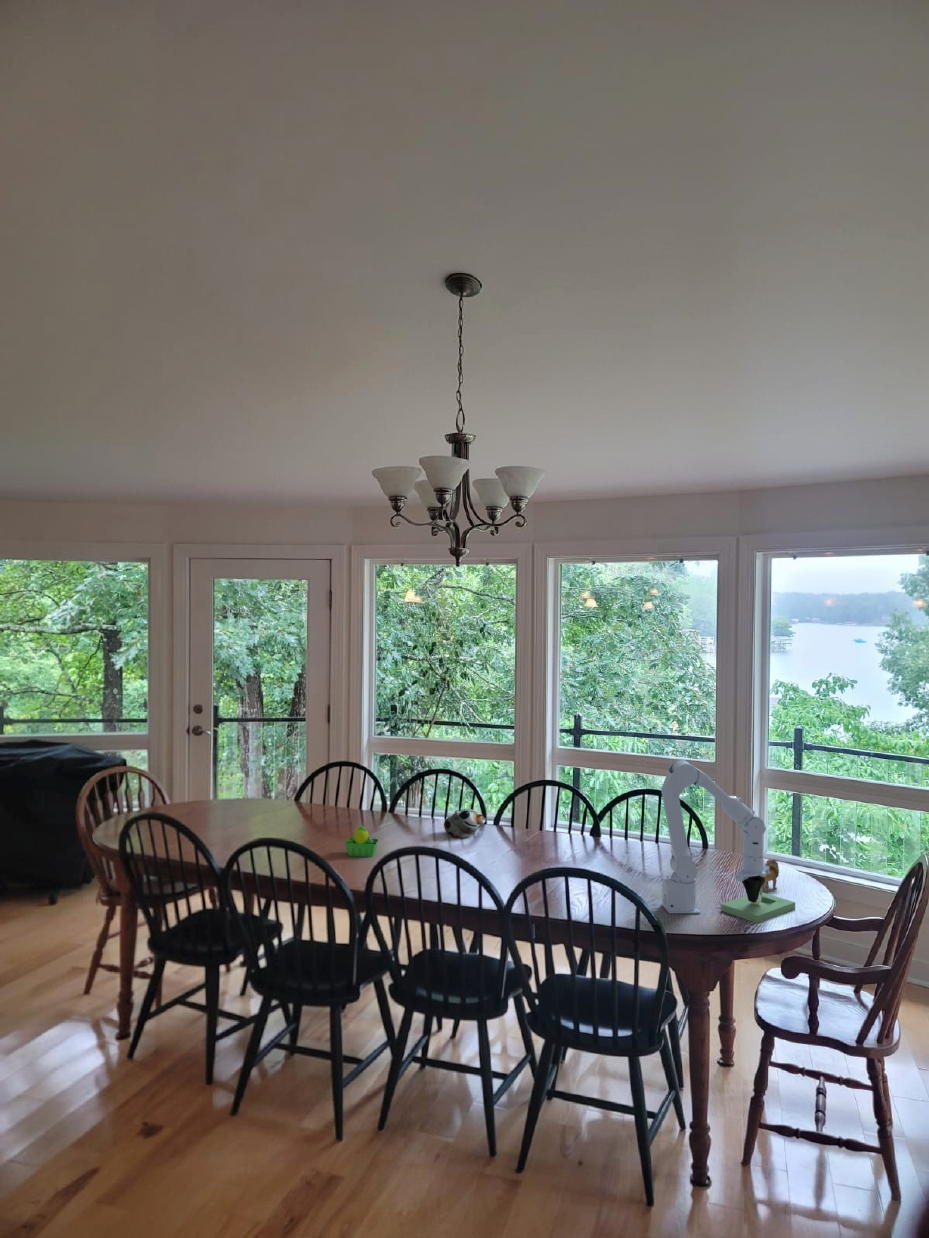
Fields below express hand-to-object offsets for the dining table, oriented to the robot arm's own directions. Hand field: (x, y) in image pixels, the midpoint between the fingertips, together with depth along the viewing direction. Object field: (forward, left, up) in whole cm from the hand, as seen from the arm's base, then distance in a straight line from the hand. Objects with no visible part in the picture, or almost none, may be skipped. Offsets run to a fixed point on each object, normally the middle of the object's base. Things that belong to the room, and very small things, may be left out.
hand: (752, 901), depth 230 cm
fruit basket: (-122, +58, -4) cm, 136 cm away
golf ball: (+1, +1, 0) cm, 1 cm away
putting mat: (+2, +2, -3) cm, 5 cm away
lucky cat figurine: (-83, +87, -4) cm, 121 cm away
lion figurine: (+12, +21, -4) cm, 25 cm away
